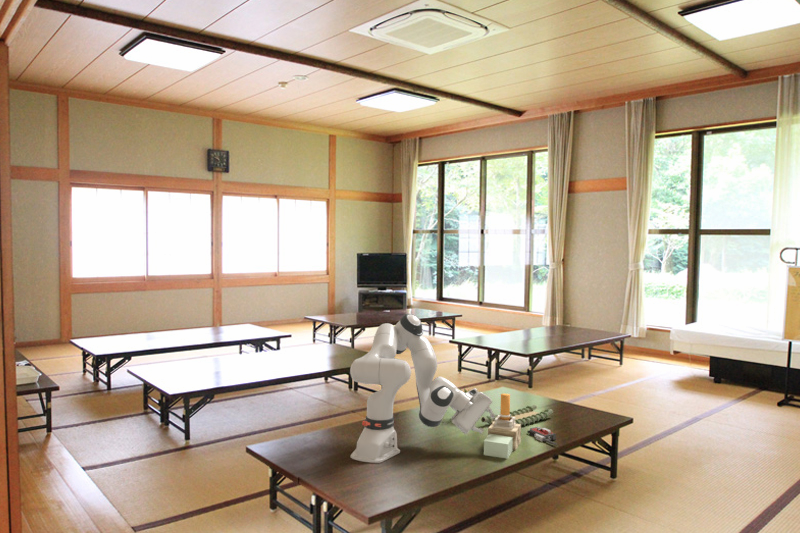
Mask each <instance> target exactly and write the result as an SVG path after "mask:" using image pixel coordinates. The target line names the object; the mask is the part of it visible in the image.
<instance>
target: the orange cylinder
mask: <svg viewBox="0 0 800 533" xmlns="http://www.w3.org/2000/svg"><path fill="white" fill-rule="evenodd" d="M510 407H511V395H510V393H501V394H500V413H499V415H500V420H507V421H510V412H511V409H510Z"/></svg>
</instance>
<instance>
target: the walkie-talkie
mask: <svg viewBox="0 0 800 533" xmlns="http://www.w3.org/2000/svg"><path fill="white" fill-rule="evenodd" d="M526 432H527V433H528V434H529V435H530V436H532V437H534V438H535V440H537V441H539V442H541V443H542V442H543V441H544V442H545V443H548V444H550V445H555V446H557V442H554V441H556V439H557V434H556V433H554V432H552V430H551V429H548V428H546V427H541V426H539V427H538V426H535V427H530V428H529V430H527V431H526Z"/></svg>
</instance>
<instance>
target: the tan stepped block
mask: <svg viewBox="0 0 800 533" xmlns="http://www.w3.org/2000/svg"><path fill="white" fill-rule="evenodd" d="M497 415H498V416H497V417H496V418H495V420H494V422H493V423H491V424H489V427H488V428H487V436H488V435H489V434H495V435H502V436H509V437H513V451H516V450H517V449H518V447H519V446H520V444H521V442H522V441H521V439H522V438H521V436H522V425H521V424H516V423H515V417H510V421H507V420H500V414H497Z"/></svg>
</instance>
